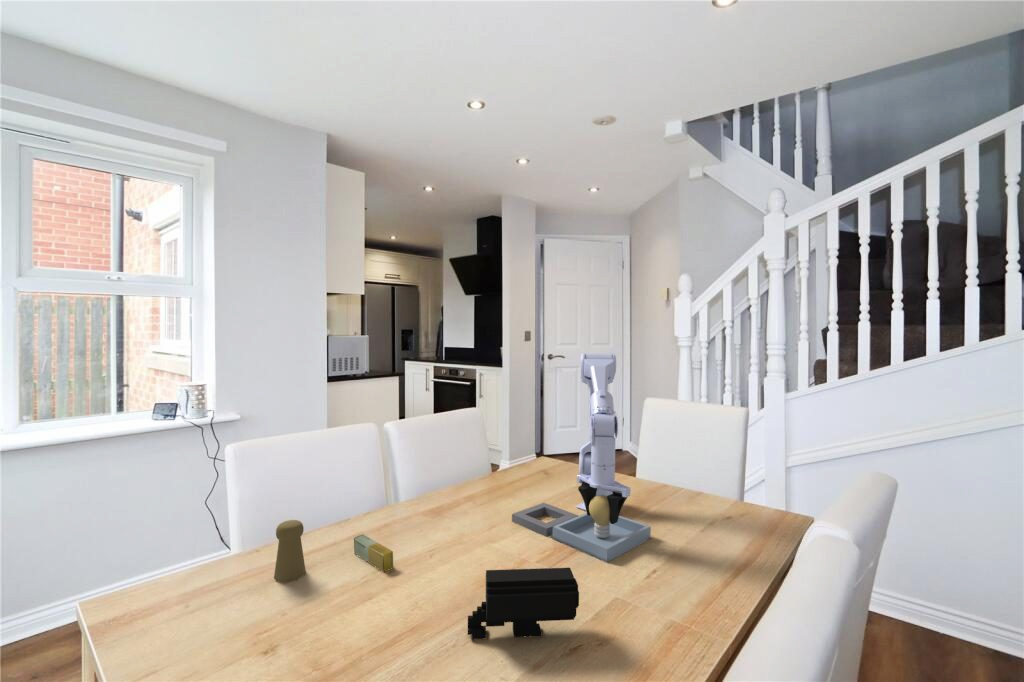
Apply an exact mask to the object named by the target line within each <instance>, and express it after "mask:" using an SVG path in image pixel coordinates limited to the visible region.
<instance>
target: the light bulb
mask: <svg viewBox="0 0 1024 682" xmlns="http://www.w3.org/2000/svg"><path fill="white" fill-rule="evenodd" d="M589 512H590V514H591V516H592V518H593V519H594V521H595V523H594V526H595V527H594V530H595V531H594V534H595V535H596V536H597V537H598V538H607V537H609V536H610V524H609V522H610V508H609V502H608V499H607V496H605V495H598V496H595V497H594V498H593V499H592V500H591V501H590V504H589Z"/></svg>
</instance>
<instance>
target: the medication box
mask: <svg viewBox="0 0 1024 682" xmlns="http://www.w3.org/2000/svg"><path fill="white" fill-rule="evenodd" d="M353 548H354V553H353V554H354V555H356V554H357V555H358V556H357V555H356V556H357V557H359V556H360V557H361V559H362V558H363V559H362V560H363V561H365V560H366V561H365V562H367V561H368V562H369V564H370V563H371V564H370V565H372V564H373V565H374V566H373V565H372V566H373V567H375V566H376V567H375V568H377V569H378V568H379V570H380V571H381V570H382V571H381V572H383V571H385V572H387V571H389V570H388V569H390V570H392V569H393V568H394V551H393V550H391V549H390V548H388V547H386V546H385V545H382V544H381V543H379V542H378V541H376V540H374V539H373V538H370V537H369V536H367V535H365V534H359V535H357V536H355V537H354V538H353ZM360 557H359V558H360ZM368 562H367V563H368ZM391 568H392V569H391ZM386 570H387V571H386Z"/></svg>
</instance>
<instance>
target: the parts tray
mask: <svg viewBox="0 0 1024 682" xmlns="http://www.w3.org/2000/svg"><path fill="white" fill-rule="evenodd" d="M594 523H595V521H594V519H593V518H592V516H591V515H590V516H589V515H587V512H585V513H582V514H580V515H579V516H577V517H575V518H572V519H570V520H568V521H565V522H563V523H560V524H558V525H555V526H553V534H552V540H554V541H557V542H559V543H562V544H564V545H565V546H568V547H569V548H570V547H571V548H572V549H575V550H577V551H580V552H582V553H584V554H587V555H589V556H590V557H594V558H596V559H598V560H600V561H602V562H605V563H608V562H610V561H612V560H614V559H616V558H618V557H619V556H622V555H623V554H625V553H627V552H628V551H630V550H632V549H634V548H635V547H638V546H640V545H641V544H643V543H645V542H648V541H649V540H651V536H652V535H651V531H652V528H651V527H652V526H650V525H647V524H645V523H641V522H639V521H636V520H633V519H630V518H627V517H625V516H621V515H619V518H618V522H617V523H614V524H611V523H610V522H609V524H610V536H609V537H607V538H598V537H597V536H596V535H595V534H594V531H595V530H594V527H595V526H594Z"/></svg>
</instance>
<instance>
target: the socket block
mask: <svg viewBox="0 0 1024 682" xmlns="http://www.w3.org/2000/svg"><path fill="white" fill-rule="evenodd" d="M544 515H545V516H548V517H551V518H553V520H550V521H547V522H544V521H542V520H540V519H537V518H539V517H541V516H544ZM577 516H580V515H579V514H576V513H574V512H572V511H571V512H570V511H567V510H565V509H562V508H559V507H557V506H554V505H551V504H550V503H549V504H548V503H546V502H541V503H540V504H536V505H533V506H530V507H528V508H524V509H522V510H519V511H517V512H513V513H512V514H511V522H512V523H514V524H517V525H519V526H522V527H524V528H526V529H528V530H530V531H532V532H535V533H537V534H539V535H541V536H544V537H546V538H547V537H549V536H551V535H553V526H555V525H558V524H560V523H563V522H565V521H568V520H570V519H572V518H575V517H577Z"/></svg>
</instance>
